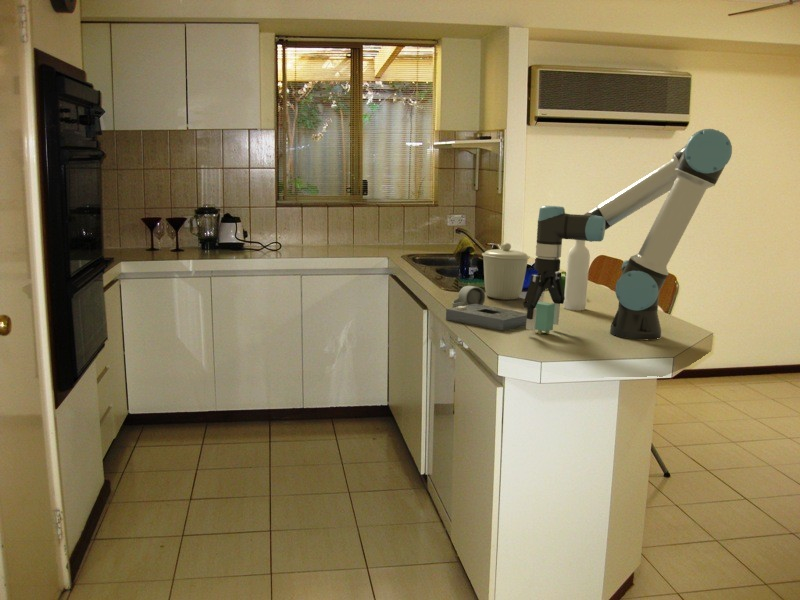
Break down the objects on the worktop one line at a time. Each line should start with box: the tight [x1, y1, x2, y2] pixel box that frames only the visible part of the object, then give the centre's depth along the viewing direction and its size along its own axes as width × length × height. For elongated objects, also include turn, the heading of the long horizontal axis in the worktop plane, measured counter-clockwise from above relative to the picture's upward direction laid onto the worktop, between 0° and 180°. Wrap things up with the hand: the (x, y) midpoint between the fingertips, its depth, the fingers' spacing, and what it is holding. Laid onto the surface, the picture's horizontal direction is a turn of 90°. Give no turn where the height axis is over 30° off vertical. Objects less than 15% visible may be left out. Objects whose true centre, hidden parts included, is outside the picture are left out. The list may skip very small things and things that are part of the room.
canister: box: [481, 242, 530, 301], centre depth 299 cm, size 18×18×21 cm
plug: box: [535, 301, 555, 335], centre depth 239 cm, size 5×4×9 cm
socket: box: [445, 304, 527, 332], centre depth 253 cm, size 22×16×4 cm
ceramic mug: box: [451, 285, 486, 308], centre depth 278 cm, size 11×8×8 cm
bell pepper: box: [561, 270, 566, 294], centre depth 308 cm, size 8×8×10 cm
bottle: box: [562, 240, 591, 312], centre depth 282 cm, size 8×8×30 cm
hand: (542, 326), depth 240 cm, fingers open, 13 cm apart
